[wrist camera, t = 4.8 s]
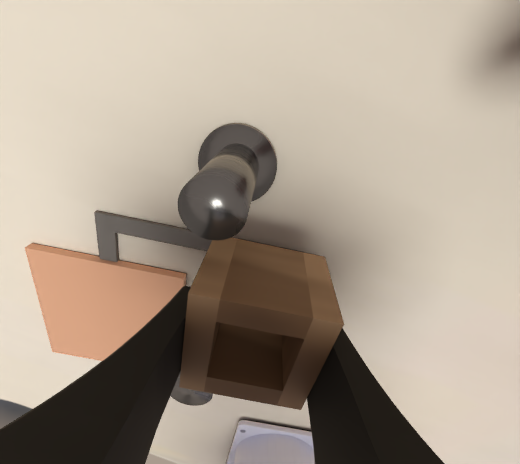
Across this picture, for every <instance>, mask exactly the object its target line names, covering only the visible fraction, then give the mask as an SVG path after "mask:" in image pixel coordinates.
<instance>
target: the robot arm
mask: <svg viewBox="0 0 520 464" xmlns="http://www.w3.org/2000/svg"><path fill="white" fill-rule="evenodd" d="M190 288H191V287H188V286H184V287H182V288H181V289H180V290H179V291H178V293H177V294H176V295H175V296H174V297H173V298H172V299H171V300H170V301H169V302H168V303H167V304H166V305H165V306H164V307H163V308H162V309H161V310H160V311H159V312H158V313H157V314H156V315H155V316H154V317H153V318H152V319H151V320H150V321H149V322H148V323H147V324H146V325H145V326H144V327H143V328H141V329H140V330H139V331H138V332H137V333H136V334H135V335H133V336H132V337H131V338H130V339H129V340H128V341H126V342H125V343H124V344H123V345H122V346H121V347H119V348H118V349H117V350H116V351H114V352H113V353H112V354H111V355H109V356H108V357H107V358H106V359H104V360H103V361H102V362H100V363H99V364H98V365H96V366H95V367H94V368H92V369H91V370H90V371H88V372H87V373H86V374H84V375H83V376H81V377H80V378H79V379H77V380H76V381H74V382H73V383H71V384H70V385H69V386H67V387H66V388H64V389H63V390H61V391H60V392H58V393H57V394H55V395H54V396H52V397H51V398H49V399H48V400H46V401H45V402H43V403H42V404H40V405H39V406H37V407H35V408H34V409H32V410H31V411H29V412H27V413H26V414H24V415H22V416H21V417H19V418H18V419H16V420H14V421H13V422H11V423H9V424H8V425H6V426H5V427H3V428H2V429H0V464H145V462H146V459H147V456H148V453H149V450H150V447H151V444H152V441H153V438H154V435H155V432H156V430H157V427H158V424H159V422H160V419H161V417H162V414H163V412H164V409H165V407H166V405H167V402H168V400H169V398H170V395H171V393H172V390H173V388H174V386H175V383H176V381H177V379H178V376H179V374H180V371H181V363H182V352H183V342H184V332H185V321H186V311H187V300H188V292H189V290H190ZM307 401H308V408H309V416H310V424H311V432H310V431H304V430H298V429H293V428H287V427H281V426H276V425H270V424H264V423H259V422H253V421H247V420H241V421H239V422H238V426H237V429H236V432H235V435H234V439H233V442H232V445H231V449H230V452H229V455H228V459H227V462H226V464H444V463H443V462H442V460H441V459H440V458H439V457H438V456H437V455H436V454H435V453H434V452H433V451H432V449H431V448H430V447H429V446H428V445H427V444H426V442H425V441H424V440H423V439H422V438H421V437H420V435H419V434H418V433H417V432H416V431H415V429H414V428H413V427H412V426H411V425H410V423H409V422H408V421H407V420H406V418H405V417H404V416H403V415H402V414H401V412H400V411H399V410H398V409H397V407H396V406H395V405H394V403H393V402H392V401H391V399H390V398H389V397H388V395H387V394H386V393H385V391H384V390H383V389H382V387H381V386H380V384H379V383H378V382H377V380H376V379H375V377H374V376H373V375H372V373H371V372H370V370H369V369H368V367H367V366H366V364H365V363H364V361H363V360H362V358H361V357H360V355H359V354H358V352H357V351H356V349H355V347H354V346H353V344H352V343H351V341H350V340H349V338H348V336H347V335H346V333H345V332H344V330H343V328H342V329H341V331H340V333H339V335H338V337H337V339H336V341H335V343H334V345H333V347H332V349H331V351H330V353H329V355H328V357H327V359H326V361H325V363H324V365H323V367H322V369H321V371H320V373H319V375H318V377H317V379H316V381H315V383H314V385H313V387H312V389H311V391H310V393H309V395H308V397H307Z"/></svg>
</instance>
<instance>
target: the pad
mask: <svg viewBox="0 0 520 464" xmlns="http://www.w3.org/2000/svg"><path fill="white" fill-rule="evenodd" d="M25 250H26V254H27V258H28V262H29V265H30V269H31V273H32V277H33V280H34V284H35V288H36V292H37V295H38V299H39V303H40V307H41V310H42V314H43V318H44V322H45V325H46V329H47V333H48V337H49V340H50V344H51V348H52V352H56V353H62V354H67V355H73V356H78V357H84V358H89V359H95V360H100V361H103V360H104V359H106V358H107V357H108V356H109V355H111V354H112V353H113V352H114V351H116V350H117V349H118V348H119V347H121V346H122V345H123V344H124V343H125V342H126V341H128V340H129V339H130V338H131V337H132V336H133V335H135V334H136V333H137V332H138V331H139V330H140V329H141V328H143V327H144V326H145V325H146V324H147V323H148V322H149V321H150V320H151V319H152V318H153V317H154V316H155V315H156V314H157V313H158V312H159V311H160V310H161V309H162V308H163V307H164V306H165V305H166V304H167V303H168V302H169V301H170V300H171V299H172V298H173V297H174V296H175V295H176V294H177V293H178V291H179V290H180V289H181V288H182V287H184V286H185V285H186V273H181V272H176V271H170V270H165V269H160V268H155V267H150V266H145V265H140V264H135V263H130V262H125V261H120V260H119V261H118V262H113V261H108V260H103V259H100V258H99V256H94V255H89V254H84V253H79V252H74V251H69V250H64V249H59V248H54V247H49V246H44V245H39V244H34V243H32V244H30V245H28V246H27V247H25Z"/></svg>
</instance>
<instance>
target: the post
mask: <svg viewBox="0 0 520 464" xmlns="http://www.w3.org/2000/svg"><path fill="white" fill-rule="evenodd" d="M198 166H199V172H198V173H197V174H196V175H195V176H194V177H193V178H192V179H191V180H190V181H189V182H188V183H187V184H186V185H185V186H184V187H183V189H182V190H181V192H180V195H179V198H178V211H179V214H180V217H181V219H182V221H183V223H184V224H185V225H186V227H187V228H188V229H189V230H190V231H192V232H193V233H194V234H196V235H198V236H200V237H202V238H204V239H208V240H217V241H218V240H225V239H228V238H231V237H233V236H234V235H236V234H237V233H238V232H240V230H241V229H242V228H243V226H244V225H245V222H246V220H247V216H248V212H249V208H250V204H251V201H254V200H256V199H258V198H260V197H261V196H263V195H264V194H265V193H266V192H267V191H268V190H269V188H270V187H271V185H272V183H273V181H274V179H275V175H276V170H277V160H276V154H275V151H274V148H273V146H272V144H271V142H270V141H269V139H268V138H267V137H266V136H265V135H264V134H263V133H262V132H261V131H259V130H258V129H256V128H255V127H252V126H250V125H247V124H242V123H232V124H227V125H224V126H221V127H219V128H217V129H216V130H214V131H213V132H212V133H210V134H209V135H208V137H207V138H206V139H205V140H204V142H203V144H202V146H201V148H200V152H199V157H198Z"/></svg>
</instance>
